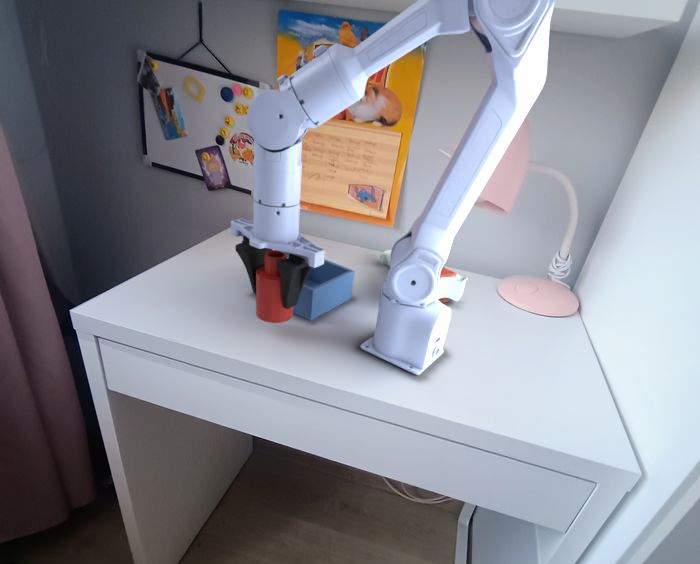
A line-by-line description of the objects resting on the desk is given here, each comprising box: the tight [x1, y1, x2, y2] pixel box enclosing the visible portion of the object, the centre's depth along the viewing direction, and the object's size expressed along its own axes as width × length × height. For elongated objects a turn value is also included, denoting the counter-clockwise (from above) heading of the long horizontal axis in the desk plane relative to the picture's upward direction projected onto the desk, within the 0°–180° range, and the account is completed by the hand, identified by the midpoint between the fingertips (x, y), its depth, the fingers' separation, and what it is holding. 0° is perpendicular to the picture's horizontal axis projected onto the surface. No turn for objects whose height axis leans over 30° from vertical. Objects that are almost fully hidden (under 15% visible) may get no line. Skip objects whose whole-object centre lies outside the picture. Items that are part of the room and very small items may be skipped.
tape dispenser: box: [378, 249, 469, 303], centre depth 84 cm, size 18×5×20 cm
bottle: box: [255, 250, 294, 324], centre depth 64 cm, size 5×5×9 cm
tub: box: [254, 255, 355, 322], centre depth 76 cm, size 12×11×5 cm
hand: (274, 298), depth 65 cm, fingers closed on bottle, 5 cm apart
